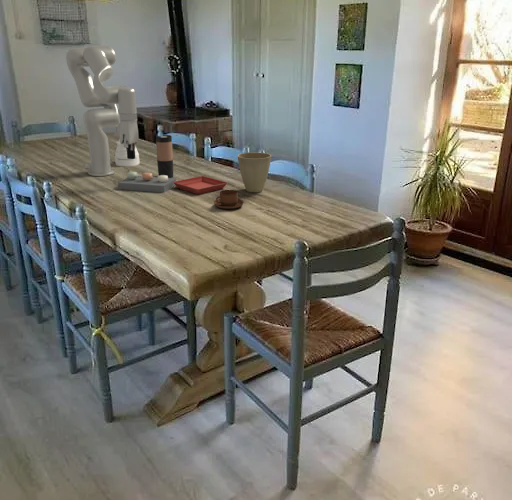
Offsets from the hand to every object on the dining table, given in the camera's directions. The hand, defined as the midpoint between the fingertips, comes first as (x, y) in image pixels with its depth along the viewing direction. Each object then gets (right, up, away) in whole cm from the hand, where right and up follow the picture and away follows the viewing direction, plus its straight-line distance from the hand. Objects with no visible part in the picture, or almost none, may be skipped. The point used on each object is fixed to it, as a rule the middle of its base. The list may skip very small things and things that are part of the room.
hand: (131, 158), depth 235 cm
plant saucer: (+31, -14, +2) cm, 34 cm away
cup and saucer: (+46, -24, -24) cm, 57 cm away
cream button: (+14, -11, +1) cm, 18 cm away
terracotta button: (+7, -10, +2) cm, 12 cm away
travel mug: (+12, -6, +21) cm, 25 cm away
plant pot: (+56, -15, -1) cm, 58 cm away
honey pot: (-14, +6, +49) cm, 51 cm away
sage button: (0, -9, +4) cm, 10 cm away
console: (+7, -13, +3) cm, 15 cm away
